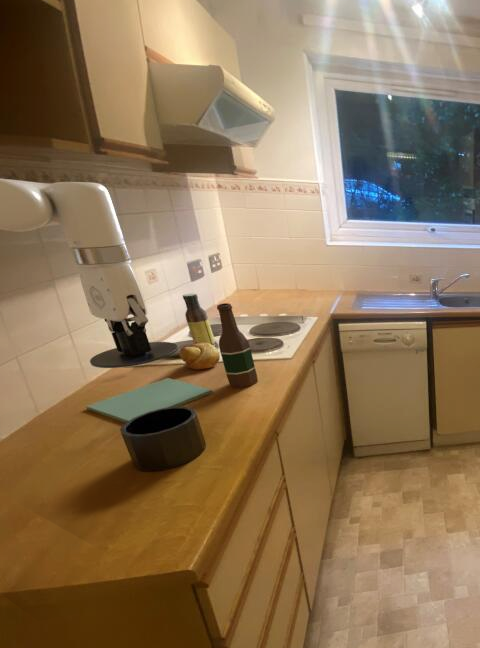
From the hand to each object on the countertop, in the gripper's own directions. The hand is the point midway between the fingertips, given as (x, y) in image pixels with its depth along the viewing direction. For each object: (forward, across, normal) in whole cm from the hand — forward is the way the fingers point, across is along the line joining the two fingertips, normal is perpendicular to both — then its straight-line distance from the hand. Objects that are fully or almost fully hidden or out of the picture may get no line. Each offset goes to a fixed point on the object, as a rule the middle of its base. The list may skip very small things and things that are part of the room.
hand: (134, 350), depth 85 cm
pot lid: (+1, 0, 0) cm, 1 cm away
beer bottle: (+24, -20, +32) cm, 45 cm away
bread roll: (+24, -45, +37) cm, 63 cm away
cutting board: (+24, -32, +14) cm, 42 cm away
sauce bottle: (+24, -60, +47) cm, 80 cm away
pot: (+24, 0, 0) cm, 24 cm away
